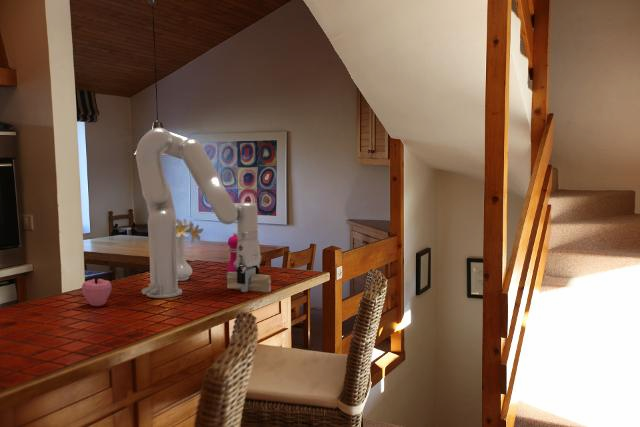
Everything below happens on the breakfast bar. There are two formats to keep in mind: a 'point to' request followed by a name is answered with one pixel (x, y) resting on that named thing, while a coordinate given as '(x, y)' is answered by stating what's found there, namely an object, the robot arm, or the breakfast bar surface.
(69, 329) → the breakfast bar surface
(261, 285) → the beige notched bar
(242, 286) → the notched plate
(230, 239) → the pepper mill
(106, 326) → the breakfast bar surface
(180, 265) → the flower vase
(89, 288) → the apple
